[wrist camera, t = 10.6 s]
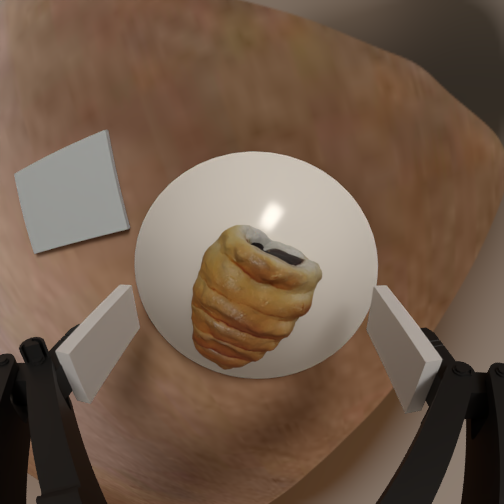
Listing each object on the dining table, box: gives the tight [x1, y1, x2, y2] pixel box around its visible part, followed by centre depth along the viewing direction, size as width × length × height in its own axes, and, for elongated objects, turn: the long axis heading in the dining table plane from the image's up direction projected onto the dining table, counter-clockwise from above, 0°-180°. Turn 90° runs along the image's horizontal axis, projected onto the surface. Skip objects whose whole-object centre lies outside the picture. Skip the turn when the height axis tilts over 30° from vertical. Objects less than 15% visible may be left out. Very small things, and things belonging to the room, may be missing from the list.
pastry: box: [191, 225, 322, 370], centre depth 18 cm, size 9×7×4 cm
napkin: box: [14, 130, 130, 254], centre depth 19 cm, size 10×7×1 cm
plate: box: [135, 152, 378, 379], centre depth 19 cm, size 16×16×1 cm
